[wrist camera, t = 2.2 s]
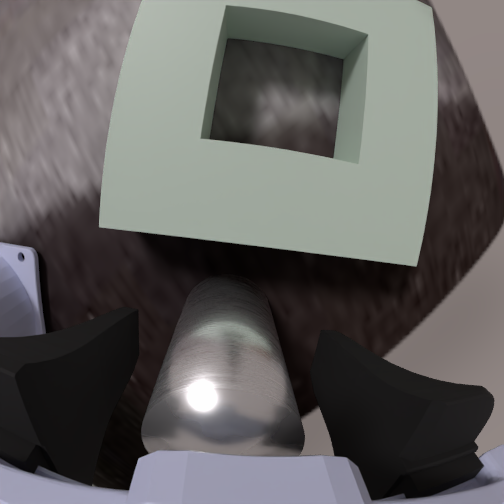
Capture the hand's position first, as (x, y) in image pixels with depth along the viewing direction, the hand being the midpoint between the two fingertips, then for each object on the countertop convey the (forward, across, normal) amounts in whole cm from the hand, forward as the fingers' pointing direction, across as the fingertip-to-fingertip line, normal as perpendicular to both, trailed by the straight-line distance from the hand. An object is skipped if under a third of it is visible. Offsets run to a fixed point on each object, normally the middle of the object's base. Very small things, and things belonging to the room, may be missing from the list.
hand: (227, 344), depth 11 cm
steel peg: (+3, 0, 0) cm, 3 cm away
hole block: (+3, -1, -10) cm, 10 cm away
